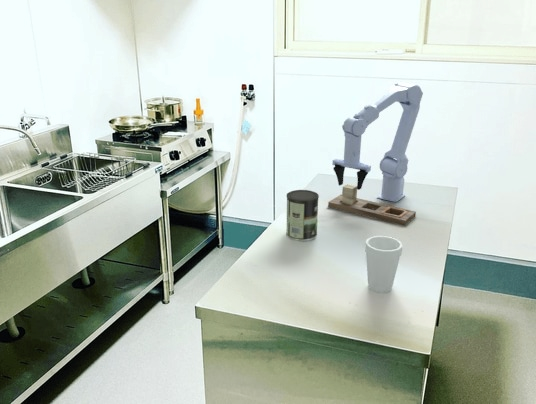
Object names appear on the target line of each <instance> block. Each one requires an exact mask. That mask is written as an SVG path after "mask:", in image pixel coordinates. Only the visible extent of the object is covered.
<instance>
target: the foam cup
mask: <svg viewBox="0 0 536 404" xmlns="http://www.w3.org/2000/svg"><path fill="white" fill-rule="evenodd" d="M402 251H403V243H402V241H400V240H399V239H397V238H394V237H391V236H385V235H375V236H371V237H368V238H367V239H366V240H365V250H364V252H365V256H366V257H365V258H366V259H365V260H366V271H367V272H366V273H367V286H368V289H369V290H371V291H373V292H376V293H381V294H384V293H389V292H390V291H392V289H393V285H394V281H395V277H396V274H397V271H398V266H399V262H400V258H401V256H402V254H403V253H402Z"/></svg>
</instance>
